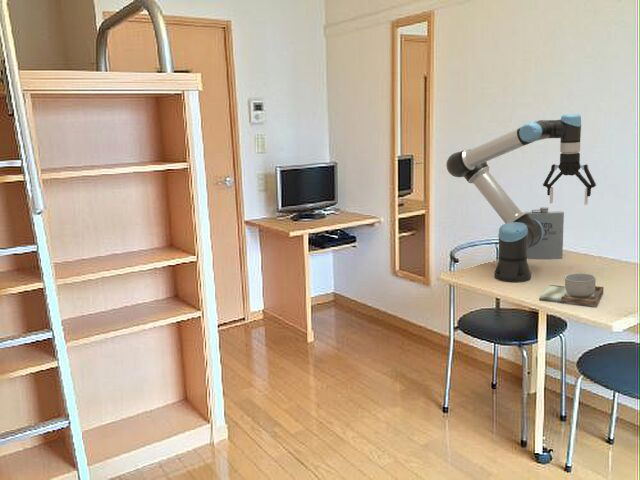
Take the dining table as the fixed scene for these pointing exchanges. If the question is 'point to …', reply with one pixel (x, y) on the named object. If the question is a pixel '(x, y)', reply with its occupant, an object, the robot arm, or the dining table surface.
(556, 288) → the board
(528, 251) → the flask
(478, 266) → the dining table surface
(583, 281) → the teacup
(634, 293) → the dining table surface
